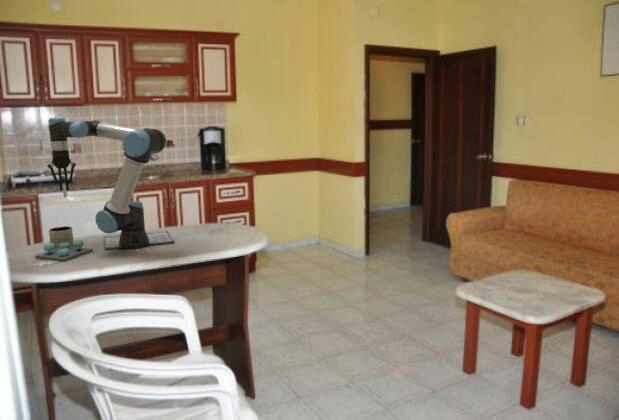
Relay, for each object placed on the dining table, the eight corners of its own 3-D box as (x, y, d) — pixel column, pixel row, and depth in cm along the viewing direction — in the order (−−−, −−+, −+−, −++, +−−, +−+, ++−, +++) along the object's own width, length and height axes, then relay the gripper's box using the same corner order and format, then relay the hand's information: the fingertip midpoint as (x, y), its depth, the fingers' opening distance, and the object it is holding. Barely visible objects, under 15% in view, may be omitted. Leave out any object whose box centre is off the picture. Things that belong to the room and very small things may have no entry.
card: (59, 262, 240) (59, 261, 240) (45, 267, 233) (45, 266, 233) (46, 260, 243) (46, 259, 243) (31, 265, 236) (31, 264, 235)
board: (93, 251, 257) (92, 248, 256) (64, 262, 240) (64, 258, 240) (65, 248, 263) (64, 245, 263) (35, 258, 247) (35, 255, 246)
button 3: (72, 250, 259) (71, 242, 258) (64, 252, 254) (63, 244, 254) (65, 249, 260) (64, 241, 259) (57, 251, 256) (56, 244, 255)
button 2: (72, 256, 247) (71, 248, 246) (64, 259, 243) (63, 251, 242) (64, 255, 249) (63, 247, 248) (56, 258, 245) (55, 250, 244)
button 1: (85, 248, 255) (85, 240, 254) (78, 250, 251) (77, 242, 250) (78, 247, 257) (77, 239, 256) (71, 249, 252) (70, 241, 252)
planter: (64, 250, 261) (62, 231, 259) (46, 249, 263) (43, 230, 261) (78, 244, 271) (76, 226, 269) (60, 243, 274) (58, 226, 272)
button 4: (57, 251, 250) (56, 243, 249) (49, 253, 246) (48, 245, 245) (50, 250, 252) (49, 242, 251) (42, 253, 247) (41, 245, 247)
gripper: (74, 148, 260) (79, 194, 265) (45, 149, 255) (51, 197, 260) (74, 149, 253) (79, 197, 258) (44, 150, 248) (50, 199, 253)
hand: (65, 197), depth 259 cm, fingers closed
